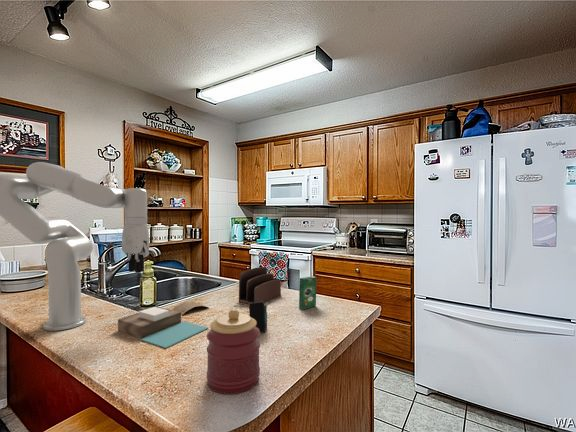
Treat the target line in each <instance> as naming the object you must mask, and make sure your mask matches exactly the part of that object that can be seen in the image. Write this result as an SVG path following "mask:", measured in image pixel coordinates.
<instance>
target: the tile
mask: <svg viewBox="0 0 576 432" xmlns="http://www.w3.org/2000/svg"><path fill="white" fill-rule="evenodd" d="M156 307H157V306H153V307H152V306H151V307H149V308H147V309H144V310H143V309H142V310H140V311H139V312H138V313H139V317H140V318H144V319H147V320H151V321H157V320H160V319H163V318H165V317H168V316H169V310H165V309H166V308H165V309H161V308H162V307H161V308H156Z"/></svg>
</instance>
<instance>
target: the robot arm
mask: <svg viewBox="0 0 576 432" xmlns="http://www.w3.org/2000/svg"><path fill="white" fill-rule="evenodd" d="M25 175H26V176H22V175H15V174H6V173H5V174H3V173H2V174H0V217H1V218H2V219H4V220H5V221H6V222H8V223H9V224H10V225H11V226H12V227H14V228H15V229H16V230H17V231H18V232H19V233H21V234H22V235H23V236H24V237H25V238H27V239H28V240H29V241H30V242H32V243H35V244H40V245H42V244H47V245H46V248H45V250H44V259H45V263H46V266H47V277H48V278H47V280H48V281H47V282H48V321H46V322H45V323H43V330H45V331H49V332H50V331H52V332H53V331H54V332H55V331H56V332H57V331H64V330H68V329H74V328H77V327H79V326H82V325H83V324H85V323H86V322H87V316H84V315H82V284H81V283H82V279H81V278H82V273H81V269H80V266H79V263H78V262H79V261H81V260H85V259H86V258H88V257H90V256H91V254H92V252H93V249H94V246H93V242H92V241H91V240H90V239H89V237H87V236H86V234H84V233H83V231H81V230H79V229H78V228H77V227H76V226H75V225H74V224H73V223H71V222H70V221H68V220H67V219H65V218H62V217H59V216H50V217H49V216H45V215H43V214H42V213H40V212H39V211H38V210H37V209H36V208H35V207H34V206H32V205H31V204H29V203H27V202H25V201H24V200H33V199H36V198H39V197H42V196H45V195H46V194H49V193H51V192H54V191H55V192H58V193H61V194H64V195H67V196H69V197H72V198H74V199H76V200H78V201H80V202H83V203H85V204H90V205H92V206H96V207H98V208H99V207H100V208H101V209H102V208H103V209H123V208H124V225H123V228H122V229H123V230H122V235H121V251H122V252H123V254H125V255H126V257H127V261H128V272H129V273H130V272H131V273H132V272H134V273H135V274H139V273H144V271H145V260H146V258H147V257H148V256H149V255H150V252H149V250H150V236H149V235H150V234H149V228H148V192H147V190H146V189H144V188H139V187H137V188H136V187H135V188H134V187H131V188H119V187H114V186H112V187H111V186H107V185H104V184H100V183H97V182H94V181H92V180H89V179H86V178H85V177H84V176H83V175H82V174H80V173H78V172H75V171H72V170H68V169H66V168H65V167H63V166H61V165H57V164H54V163H50V162H49V163H48V162H45V161H37V162H33V163H31V164H29V165H28V167H27V168H26V170H25Z"/></svg>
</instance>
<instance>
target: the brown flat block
mask: <svg viewBox="0 0 576 432" xmlns="http://www.w3.org/2000/svg"><path fill="white" fill-rule="evenodd" d="M155 307H156V308H161V309H165V310H169V316H168V317H165V318H163V319H160V320H157V321H151V320H147V319H144V318H140V317H139V312H136V313H133V314H130V315H127V316H125V317H121V318H118V319H117V331H118V332H121V333H122V334H123V333H124V334H127V335H129V336H133V337H136V338H138V339H142V338H144V337H147V336H149V335H152V334H154V333H157V332H159V331H161V330H164V329H166V328H169V327H171V326H174V325H176V324H179V323H181V322H182V316H181V312H178V311H174V310H172V309H169V308H164V307H161V306H155Z"/></svg>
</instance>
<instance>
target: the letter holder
mask: <svg viewBox="0 0 576 432" xmlns="http://www.w3.org/2000/svg"><path fill="white" fill-rule="evenodd" d="M281 282H282V281H281V279H274V274H273V273H268V269H267V267H266V266H259V267H258V266H257V267H254V268H250V269H247V270H244V271H242V272H240V273H239V276H238V302H240V303H243V304H248V305H249V303H256V302H264V303H265V302H268V301H270V300H272V299H275V298H277V297H280V296H281V295H282V288H281V286H282V285H281V284H282V283H281Z"/></svg>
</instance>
